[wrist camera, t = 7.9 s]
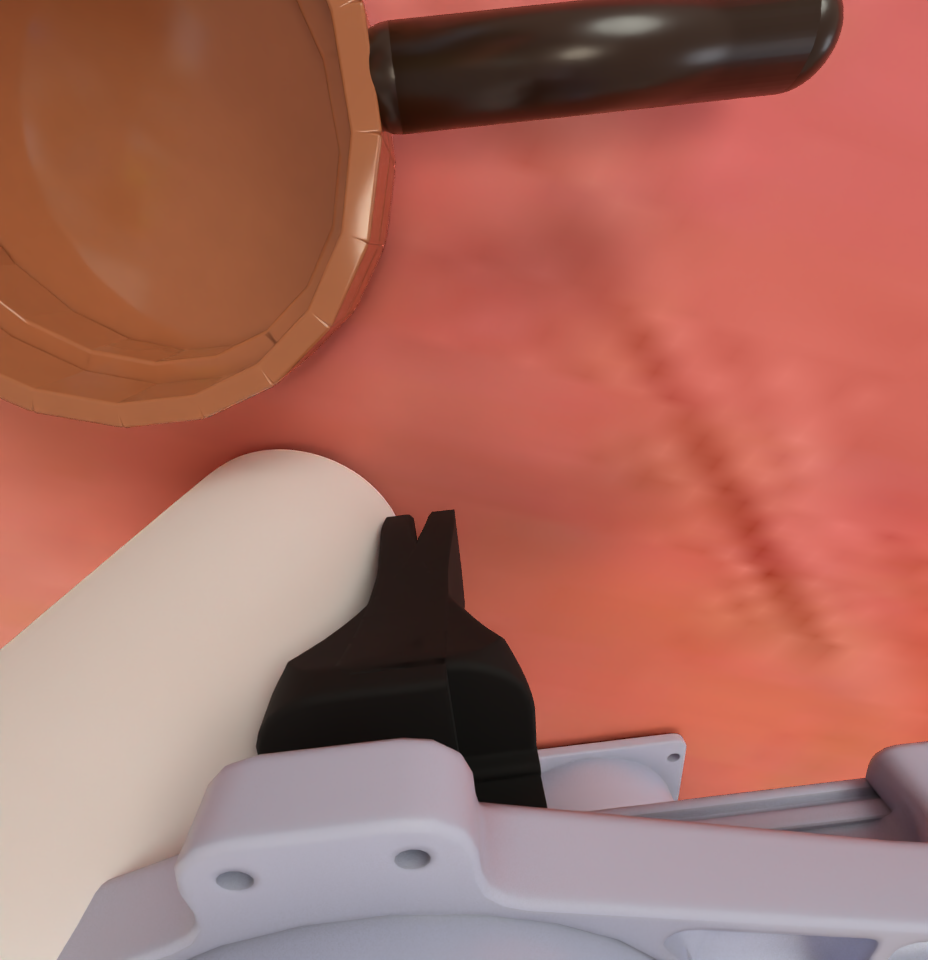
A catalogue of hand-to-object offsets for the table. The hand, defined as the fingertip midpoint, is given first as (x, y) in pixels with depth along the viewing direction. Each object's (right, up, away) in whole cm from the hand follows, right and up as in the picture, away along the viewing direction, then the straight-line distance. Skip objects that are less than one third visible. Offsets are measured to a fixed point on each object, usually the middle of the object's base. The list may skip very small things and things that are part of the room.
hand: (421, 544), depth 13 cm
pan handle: (+3, +9, -5) cm, 11 cm away
